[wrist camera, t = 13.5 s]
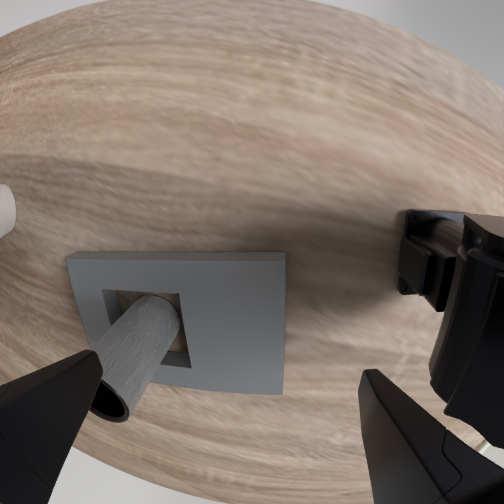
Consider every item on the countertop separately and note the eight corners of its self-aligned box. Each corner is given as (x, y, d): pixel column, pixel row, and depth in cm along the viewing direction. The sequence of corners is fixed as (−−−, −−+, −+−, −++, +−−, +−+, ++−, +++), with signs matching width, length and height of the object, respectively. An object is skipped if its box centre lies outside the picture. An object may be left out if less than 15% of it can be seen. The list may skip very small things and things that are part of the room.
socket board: (285, 251, 20) (285, 261, 18) (283, 379, 24) (282, 394, 22) (78, 251, 22) (65, 258, 20) (108, 360, 26) (99, 371, 24)
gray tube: (191, 329, 23) (143, 420, 14) (154, 345, 24) (102, 425, 15) (160, 285, 22) (90, 363, 13) (124, 305, 23) (56, 376, 14)
